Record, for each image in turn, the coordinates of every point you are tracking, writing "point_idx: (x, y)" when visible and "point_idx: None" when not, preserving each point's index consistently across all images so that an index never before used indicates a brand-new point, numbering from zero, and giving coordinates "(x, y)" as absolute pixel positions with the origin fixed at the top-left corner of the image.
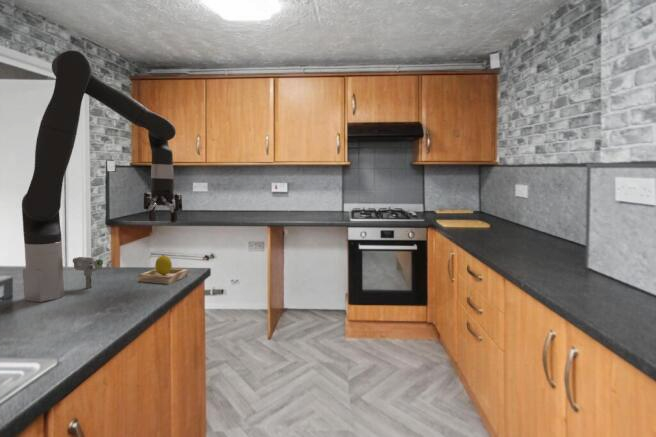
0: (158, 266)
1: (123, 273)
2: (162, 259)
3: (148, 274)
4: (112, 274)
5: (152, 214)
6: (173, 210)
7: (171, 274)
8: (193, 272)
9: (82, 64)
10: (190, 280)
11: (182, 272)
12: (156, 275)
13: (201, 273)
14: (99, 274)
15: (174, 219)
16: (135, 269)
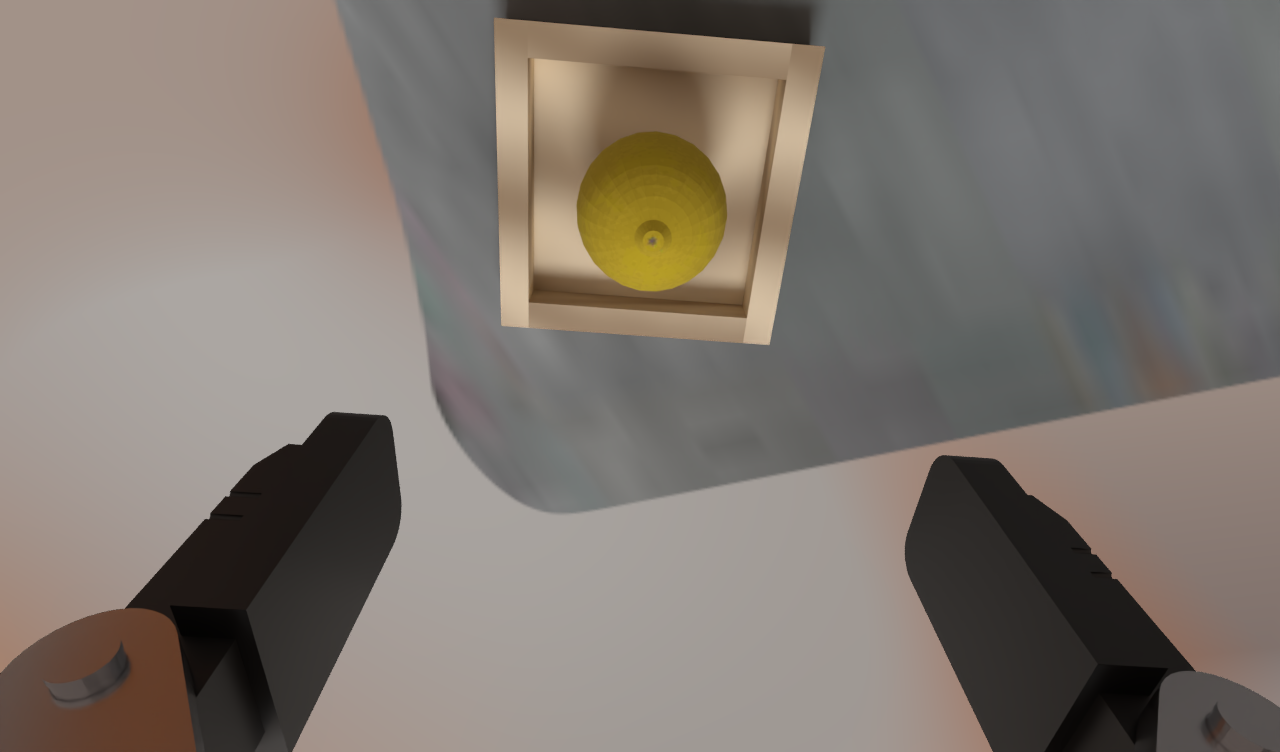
0: (663, 136)
1: (1054, 255)
2: (630, 174)
3: (736, 71)
4: (1136, 205)
5: (1014, 608)
6: (21, 674)
7: None
8: (528, 399)
9: None
10: (403, 175)
11: (500, 244)
12: (642, 52)
13: (454, 386)
14: (1251, 179)
15: (254, 470)
16: (1006, 385)
